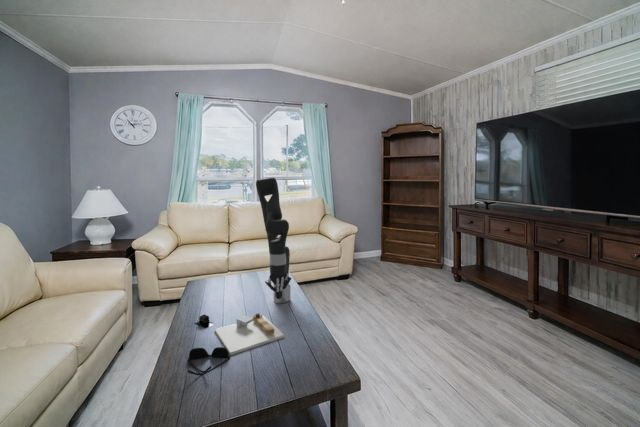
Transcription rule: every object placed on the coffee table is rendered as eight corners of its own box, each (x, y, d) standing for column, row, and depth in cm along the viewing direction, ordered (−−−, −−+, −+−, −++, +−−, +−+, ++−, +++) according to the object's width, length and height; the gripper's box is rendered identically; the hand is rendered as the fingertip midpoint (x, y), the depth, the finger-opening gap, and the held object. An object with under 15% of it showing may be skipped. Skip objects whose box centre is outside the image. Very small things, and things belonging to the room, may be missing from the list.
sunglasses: (174, 382, 108) (173, 369, 108) (189, 358, 122) (188, 346, 122) (221, 380, 109) (221, 367, 108) (231, 356, 123) (230, 345, 123)
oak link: (251, 319, 151) (251, 313, 151) (260, 317, 154) (259, 311, 153) (267, 335, 136) (266, 328, 136) (275, 332, 139) (275, 325, 138)
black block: (218, 325, 150) (217, 316, 150) (205, 331, 144) (205, 322, 144) (202, 319, 157) (202, 310, 157) (190, 324, 151) (189, 316, 151)
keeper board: (263, 317, 157) (263, 307, 157) (284, 337, 138) (284, 325, 137) (214, 331, 143) (214, 320, 143) (230, 355, 124) (230, 342, 123)
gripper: (286, 258, 145) (287, 292, 147) (261, 262, 137) (262, 299, 139) (294, 262, 139) (294, 297, 141) (268, 266, 131) (269, 304, 133)
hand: (278, 298), depth 140 cm, fingers closed
